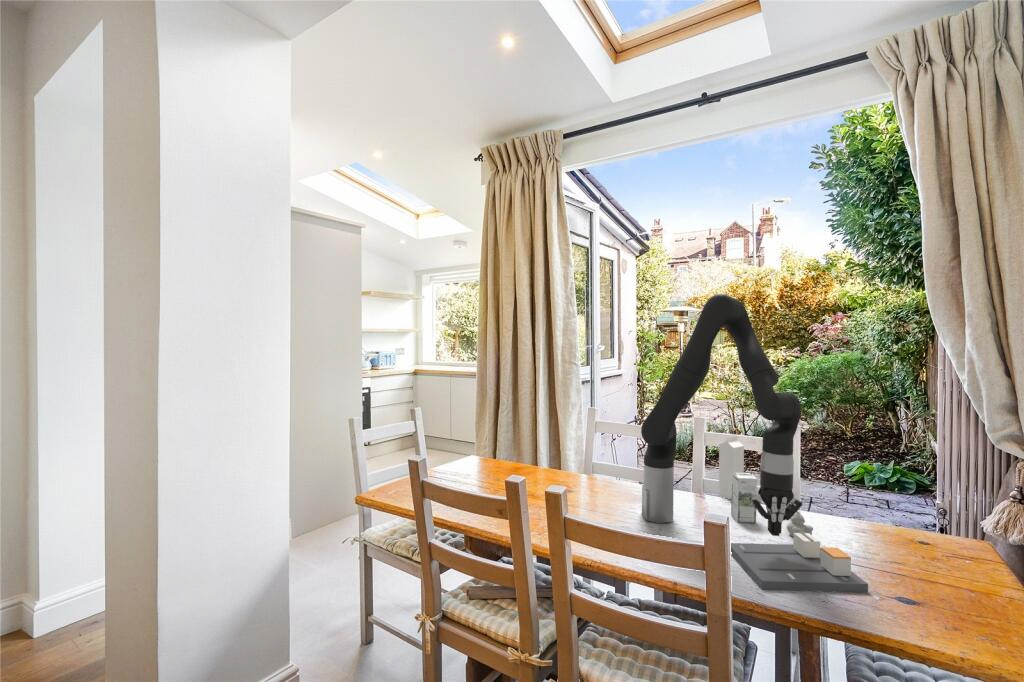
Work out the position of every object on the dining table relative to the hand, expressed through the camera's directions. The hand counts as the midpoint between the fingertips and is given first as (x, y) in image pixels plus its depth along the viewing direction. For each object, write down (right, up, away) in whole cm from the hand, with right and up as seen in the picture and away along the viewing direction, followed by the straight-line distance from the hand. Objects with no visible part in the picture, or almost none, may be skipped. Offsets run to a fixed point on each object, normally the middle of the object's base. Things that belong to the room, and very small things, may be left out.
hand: (774, 534), depth 124 cm
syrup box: (+5, -7, +28) cm, 29 cm away
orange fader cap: (+10, -5, -9) cm, 14 cm away
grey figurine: (+16, -7, +15) cm, 23 cm away
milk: (+11, -6, +49) cm, 51 cm away
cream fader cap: (+8, -5, 0) cm, 10 cm away
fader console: (+2, -7, -4) cm, 9 cm away
